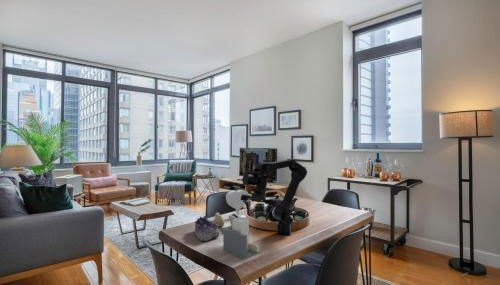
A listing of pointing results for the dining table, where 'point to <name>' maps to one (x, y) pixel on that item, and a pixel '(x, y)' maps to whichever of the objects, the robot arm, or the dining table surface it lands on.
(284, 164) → the robot arm
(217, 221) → the beige lumpy piece
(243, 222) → the white tapered vase
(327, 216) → the dining table surface
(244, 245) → the bookend
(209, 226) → the geode
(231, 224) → the hinge
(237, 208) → the heart sculpture
